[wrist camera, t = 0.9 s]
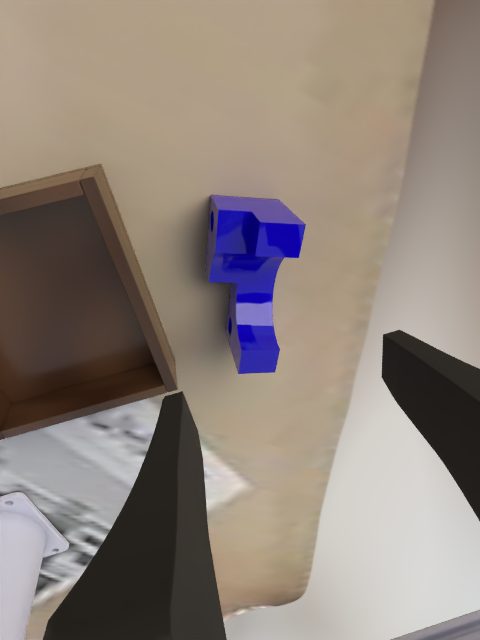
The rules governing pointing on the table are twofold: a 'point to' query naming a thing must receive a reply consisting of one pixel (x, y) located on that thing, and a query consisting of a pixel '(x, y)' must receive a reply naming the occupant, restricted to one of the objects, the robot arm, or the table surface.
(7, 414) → the box
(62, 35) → the table surface
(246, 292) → the cable holder
